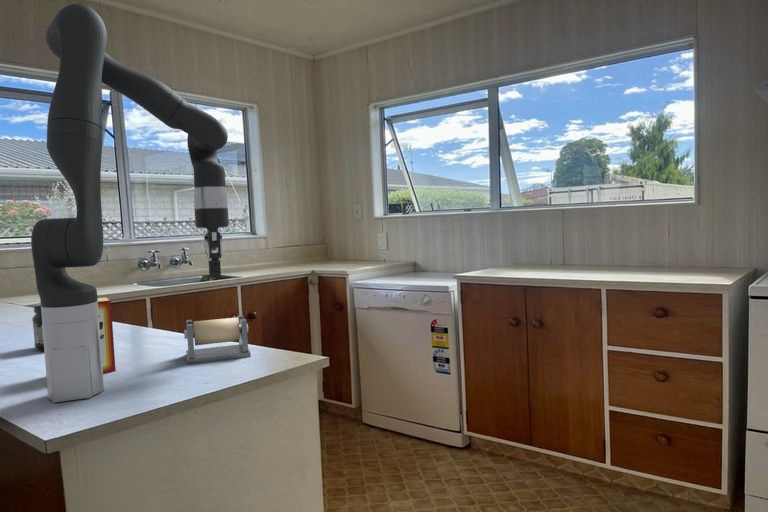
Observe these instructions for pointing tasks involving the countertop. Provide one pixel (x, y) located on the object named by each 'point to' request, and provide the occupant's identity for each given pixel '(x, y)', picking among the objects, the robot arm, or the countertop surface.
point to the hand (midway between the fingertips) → (214, 276)
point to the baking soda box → (106, 334)
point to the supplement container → (38, 328)
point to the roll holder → (218, 352)
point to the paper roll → (216, 331)
